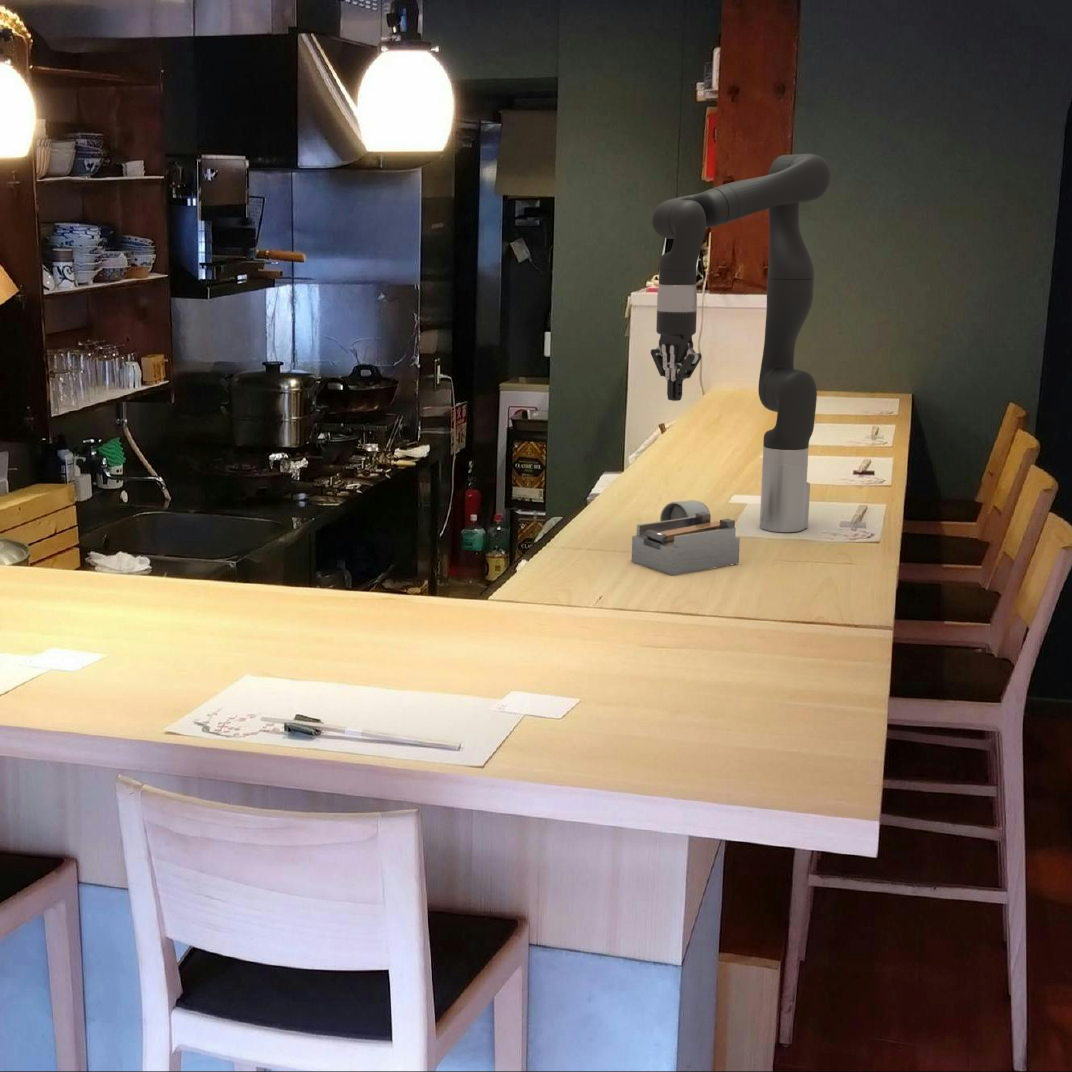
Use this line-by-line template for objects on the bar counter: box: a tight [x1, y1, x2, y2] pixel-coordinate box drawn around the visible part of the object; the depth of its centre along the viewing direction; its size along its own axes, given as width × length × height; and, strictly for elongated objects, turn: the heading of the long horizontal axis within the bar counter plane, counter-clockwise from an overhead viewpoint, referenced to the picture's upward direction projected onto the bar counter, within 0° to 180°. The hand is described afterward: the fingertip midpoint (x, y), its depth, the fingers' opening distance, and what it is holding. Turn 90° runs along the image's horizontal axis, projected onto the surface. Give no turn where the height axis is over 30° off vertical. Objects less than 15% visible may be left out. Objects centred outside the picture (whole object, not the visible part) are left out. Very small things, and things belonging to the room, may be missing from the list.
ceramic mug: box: [659, 500, 712, 522], centre depth 274 cm, size 11×8×8 cm
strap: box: [646, 520, 720, 543], centre depth 251 cm, size 17×4×2 cm, turn 123°
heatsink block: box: [631, 512, 741, 576], centre depth 252 cm, size 16×12×8 cm
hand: (674, 400), depth 259 cm, fingers closed
